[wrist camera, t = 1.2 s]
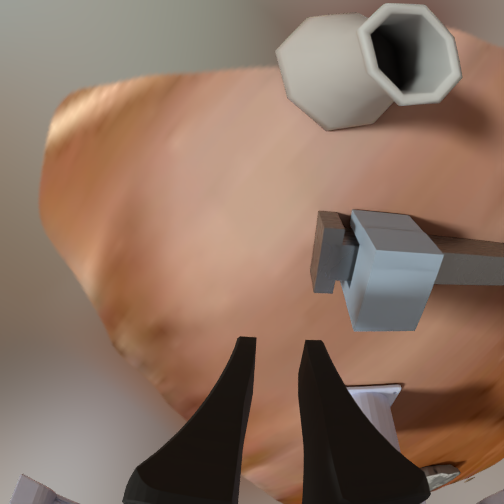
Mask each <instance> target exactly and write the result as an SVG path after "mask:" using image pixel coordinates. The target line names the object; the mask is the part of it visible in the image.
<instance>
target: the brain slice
mask: <svg viewBox="0 0 504 504" xmlns="http://www.w3.org/2000/svg"><path fill="white" fill-rule="evenodd" d="M420 469H421V470H422V471H424V472H425V475H426V478H427V480H428V483H429V488H430V491H431V490H433V489H435V488H437V487H439V486H441V485H444V484H446V483H447V482H449V481H451V480H453V479H454V478H455V477H456V476H458V475H459V474H460V471H459V470H458V468H456V467H453V466H452V465H435V466H427V467H422V468H420Z"/></svg>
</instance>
